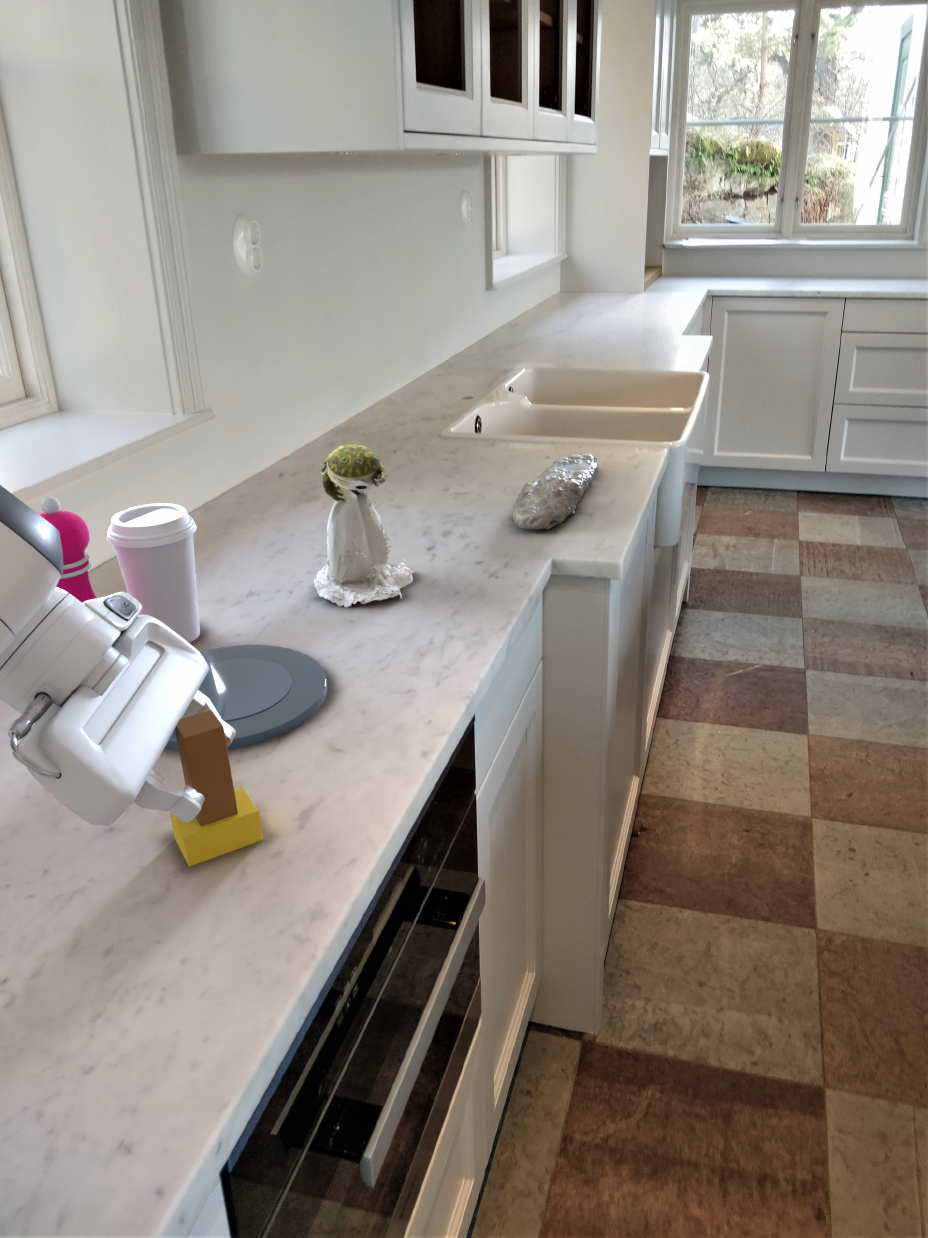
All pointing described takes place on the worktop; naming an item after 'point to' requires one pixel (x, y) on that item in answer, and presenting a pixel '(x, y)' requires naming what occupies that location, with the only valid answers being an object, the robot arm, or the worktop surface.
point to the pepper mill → (71, 549)
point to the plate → (261, 690)
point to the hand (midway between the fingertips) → (214, 775)
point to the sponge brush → (212, 794)
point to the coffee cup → (159, 563)
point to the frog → (356, 532)
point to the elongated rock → (554, 492)
